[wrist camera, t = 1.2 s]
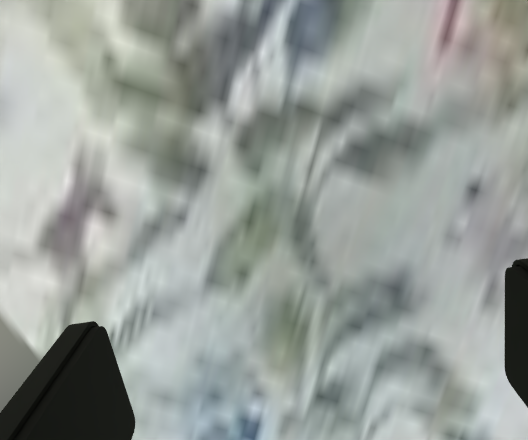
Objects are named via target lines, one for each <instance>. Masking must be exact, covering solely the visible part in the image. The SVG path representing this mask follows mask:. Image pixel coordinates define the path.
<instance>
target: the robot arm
mask: <svg viewBox="0 0 528 440" xmlns="http://www.w3.org/2000/svg"><path fill="white" fill-rule="evenodd" d="M505 372H506V376H507V379H508V381H509V383H510V384H511V386H512V387H513V388H514V390H515V391H516V392H517V394H518V395H519V396H520V398H521V399H522V400H523V402H524V403H525V404H526V406H527V407H528V258H527V259H520V260H515V261H514V262H513V265H512V267H510V268H507V269H506V272H505ZM134 429H135V417H134V413H133V410H132V407H131V404H130V401H129V398H128V395H127V392H126V389H125V386H124V383H123V380H122V376H121V373H120V370H119V367H118V364H117V361H116V358H115V355H114V352H113V349H112V346H111V343H110V340H109V337H108V334H107V331H106V329H105V328H104V327H103V326H100V327H99V326H98V324H97V323H96V322H94V321H93V322H86V323H79V324H72V325H69V326H68V327H67V328H66V329H65V330H64V332H63V333H62V334H61V335H60V337H59V338H58V339H57V341H56V342H55V343H54V344H53V346H52V347H51V348H50V350H49V351H48V352H47V353H46V355H45V356H44V357H43V359H42V360H41V361H40V362H39V364H38V365H37V366H36V368H35V369H34V370H33V371H32V373H31V374H30V375H29V377H28V378H27V379H26V380H25V382H24V383H23V384H22V386H21V387H20V388H19V389H18V391H17V392H16V393H15V395H14V396H13V397H12V399H11V400H10V401H9V402H8V404H7V405H6V406H5V408H4V409H3V410H2V411H1V413H0V440H131V439H132V436H133V433H134Z"/></svg>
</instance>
